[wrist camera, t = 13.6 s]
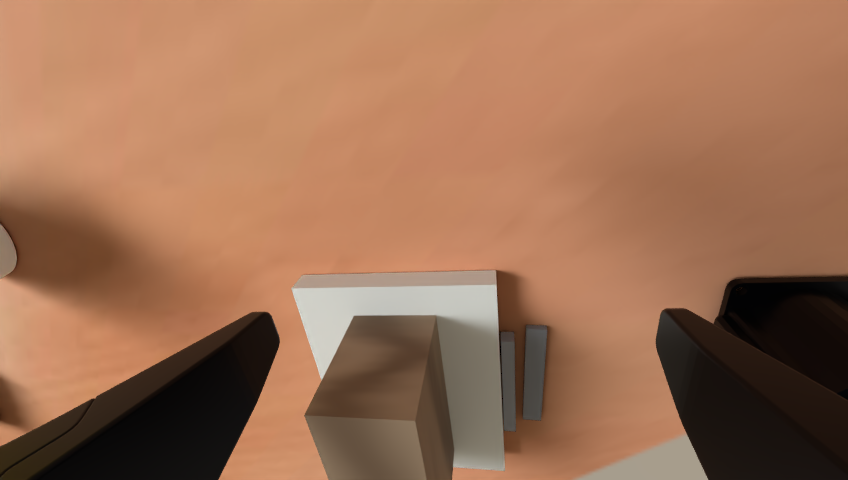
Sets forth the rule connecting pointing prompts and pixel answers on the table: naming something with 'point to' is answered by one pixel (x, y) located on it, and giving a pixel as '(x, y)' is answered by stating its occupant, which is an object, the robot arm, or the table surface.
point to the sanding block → (384, 403)
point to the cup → (6, 253)
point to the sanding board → (458, 334)
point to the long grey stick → (508, 380)
